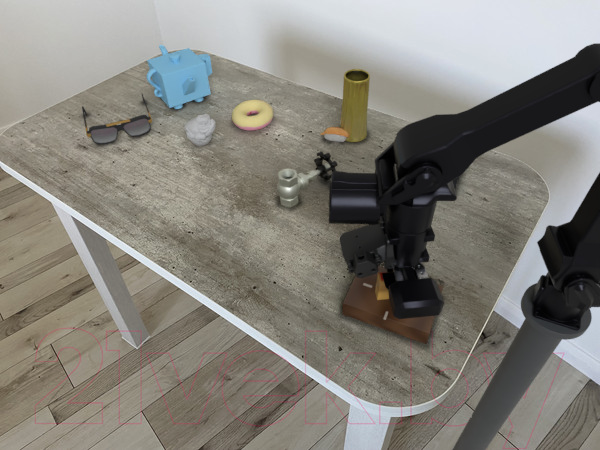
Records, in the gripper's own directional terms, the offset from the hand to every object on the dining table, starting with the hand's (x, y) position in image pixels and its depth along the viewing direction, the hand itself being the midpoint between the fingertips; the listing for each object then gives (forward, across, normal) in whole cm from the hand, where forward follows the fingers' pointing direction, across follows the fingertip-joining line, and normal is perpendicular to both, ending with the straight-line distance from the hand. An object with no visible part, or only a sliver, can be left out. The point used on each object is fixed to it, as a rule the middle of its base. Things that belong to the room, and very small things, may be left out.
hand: (394, 292), depth 72 cm
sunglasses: (+4, -56, -51) cm, 76 cm away
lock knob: (0, 0, 0) cm, 0 cm away
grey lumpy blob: (+4, -46, -31) cm, 56 cm away
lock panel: (+4, 0, 0) cm, 4 cm away
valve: (+4, -28, -11) cm, 30 cm away
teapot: (+4, -67, -37) cm, 76 cm away
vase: (+4, -46, +2) cm, 46 cm away
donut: (+4, -54, -20) cm, 58 cm away
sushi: (+4, -44, -2) cm, 45 cm away
